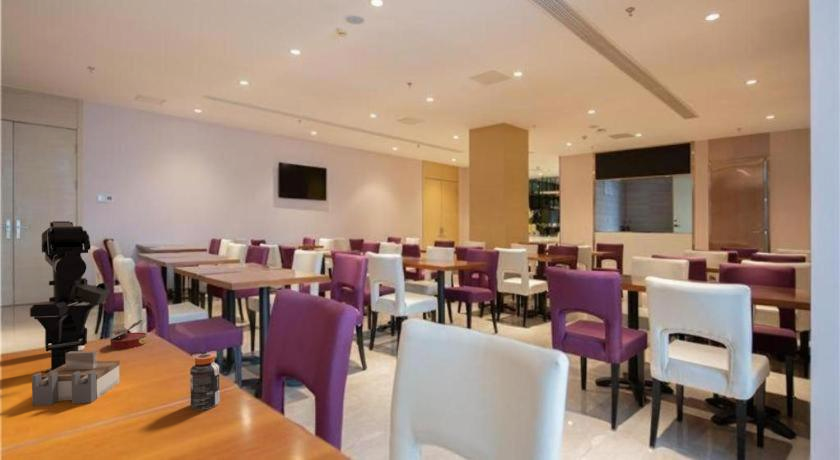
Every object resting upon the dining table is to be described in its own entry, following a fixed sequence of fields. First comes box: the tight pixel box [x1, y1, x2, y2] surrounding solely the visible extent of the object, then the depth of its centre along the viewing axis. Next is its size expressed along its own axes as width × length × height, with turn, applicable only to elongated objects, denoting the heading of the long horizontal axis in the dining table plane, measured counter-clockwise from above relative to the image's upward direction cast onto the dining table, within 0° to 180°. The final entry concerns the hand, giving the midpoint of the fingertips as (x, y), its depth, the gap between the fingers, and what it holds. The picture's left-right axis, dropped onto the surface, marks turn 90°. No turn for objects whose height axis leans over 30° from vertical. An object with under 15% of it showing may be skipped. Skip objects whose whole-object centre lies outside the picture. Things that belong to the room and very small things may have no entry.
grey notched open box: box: [31, 365, 120, 407], centre depth 105 cm, size 12×12×7 cm
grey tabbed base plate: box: [39, 350, 120, 386], centre depth 105 cm, size 12×12×5 cm
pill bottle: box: [189, 353, 220, 411], centre depth 100 cm, size 6×6×11 cm
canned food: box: [109, 319, 147, 351], centre depth 145 cm, size 11×10×10 cm
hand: (69, 336), depth 111 cm, fingers open, 9 cm apart
